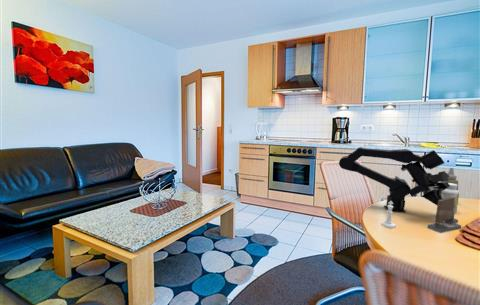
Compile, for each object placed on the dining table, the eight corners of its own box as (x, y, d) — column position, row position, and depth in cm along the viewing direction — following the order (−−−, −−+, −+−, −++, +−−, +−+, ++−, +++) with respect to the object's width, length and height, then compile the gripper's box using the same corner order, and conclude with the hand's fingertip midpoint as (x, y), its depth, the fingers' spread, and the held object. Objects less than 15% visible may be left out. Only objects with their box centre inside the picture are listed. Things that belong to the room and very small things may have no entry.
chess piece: (378, 222, 101) (380, 199, 99) (389, 222, 101) (392, 199, 100) (386, 228, 96) (389, 203, 95) (398, 228, 96) (401, 203, 95)
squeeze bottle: (438, 198, 135) (442, 165, 132) (457, 202, 129) (463, 168, 127) (435, 201, 129) (440, 167, 127) (455, 206, 124) (461, 170, 121)
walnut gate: (433, 221, 100) (437, 199, 99) (448, 216, 105) (452, 195, 104) (439, 223, 98) (443, 200, 97) (454, 218, 104) (458, 197, 102)
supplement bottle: (449, 208, 120) (453, 182, 118) (460, 213, 114) (464, 186, 112) (434, 207, 121) (438, 181, 119) (444, 212, 114) (448, 185, 112)
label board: (419, 224, 100) (420, 221, 100) (447, 219, 107) (448, 216, 106) (440, 232, 93) (440, 229, 93) (469, 226, 100) (469, 223, 99)
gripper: (421, 165, 100) (448, 201, 92) (448, 163, 107) (475, 196, 99) (399, 179, 108) (422, 213, 100) (426, 176, 116) (449, 208, 107)
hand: (443, 207), depth 101 cm, fingers closed, pressing on walnut gate
